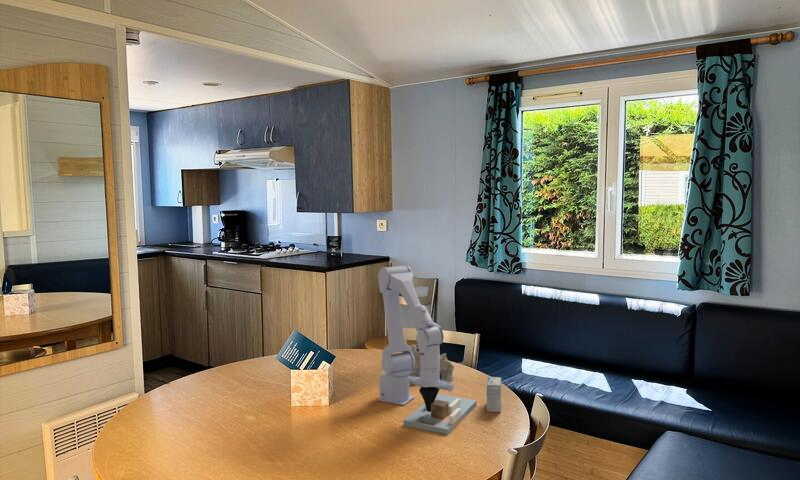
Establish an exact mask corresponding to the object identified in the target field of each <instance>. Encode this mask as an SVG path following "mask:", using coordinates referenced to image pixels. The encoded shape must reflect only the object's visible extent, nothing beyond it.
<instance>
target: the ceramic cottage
mask: <svg viewBox="0 0 800 480" xmlns="http://www.w3.org/2000/svg"><path fill="white" fill-rule="evenodd" d="M410 347H411V348H412V353H413V356H414V358H415V366H414V368H413V370H411V373H410V374H409V376H412V377H420V352H419V350H418V351H417V346H416V344H411V345H410ZM454 369H455V366H454V364H452V363H451V361H449V360H448V358H447V353H442V354H440V353H439V379H440V380H443V381H446V382H449V383H452V382H454V376H453V372H454Z"/></svg>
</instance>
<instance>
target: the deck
mask: <svg viewBox="0 0 800 480" xmlns="http://www.w3.org/2000/svg"><path fill="white" fill-rule="evenodd" d="M435 400H441V401H446V402H449V415H448V416H447V417H446V418H445V419H444V420H442V419H437V418H432V417H431V412H427V409H426V405H425V402H424V403H423V404H421V406H419V407H418V408H417V409H416V410H414V411H413V412H412V413H410V414H409V415H408V416H406V417H405V418H404V419H403V426H404V427H409V428H414V429H419V430H423V431H426V432H427V431H428V432H433V433H438V434H442V435H446V436H447V435H449V434H450V433H452V431H453V430H454V429H455V428H456V427H457V426H458V425H459V424H460V423H461V422H462V421H463V420H464V419H465V418H466V417H467V416H468V414H470V413H471V412H472V411H473V409H475V407H476V406H478V405H477V401H478V400H476V399H471V398H464V397H460V396H459V397H458V396H453V395H447V394H442V393H438V394H437V396H436V398H435ZM422 422H423V423H422ZM432 424H433V425H432Z"/></svg>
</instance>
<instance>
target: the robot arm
mask: <svg viewBox="0 0 800 480" xmlns="http://www.w3.org/2000/svg"><path fill="white" fill-rule="evenodd" d="M377 281H378V287H379V289H378V290H379V293H381V294H382V298H383V307H384V308H383V309H384V314H385V316H384V317H385V322H386V323H385V324H386V332H387V340H388V345H387V346H386V347H385V348H384V349H383V350H382V352H381V368H382V370H383V371H382V373H381V374H380V378H379V398H378V401H380V402H385V403H389V404H395V405H400V406H405V405H406V404H408V403H409V402H410V401H412V400H413V399H414V398H415V396H414V395H412V394H411V395H410V385H416V386H420V388H419V389H418V390H419V391H418V392H419V393H420V395H421V397H422V399H423V401H424V403H425V405H426V409H427V412H431V404H432V403H433V402H434V401H435V398H436V396H437V394H439V391H440V390H444V391H447V392H450V393H452V392H453V391H454V389H455V388H454V383H452V382H446V381H443V380H440V379H439V354H440V345H442V344H443V342H444V337H445V336H444V332H443V329H442V327H441V326H440V325H439V324H437V323H436V322H434V320H433V319H432V317H431V315H430V313H429V311H428V309H427V307H426V305H424V304H423V305H422V304H421V302H420V300H419V296H418V294H417V292H416V290H415V286H414V285H413V281H414V273H413V271H412V268H411V267H410V266H409V265H408V264H406V265H405V264H404V265H399V266H389V267H388V266H387V267H385V266H383V267H381V268H380V270H379V272H378V274H377ZM400 294H401V296H402V297H403V300H404V301H405V303H406V305H407V307H408V308H409V313H408V317H409V318H410V320H411V322H412V324H413V326H414V329H415V331H416V335H415V338H416V343H417V344H418V345H417V346H418V351H419V352H420V377H412V376H409V374H410V373H411V370H413V368H414V366H415V358H414V356H413V353H412V348H411V345H408V344H407V343H405V337H404V329H403V321H402V313H401V305H400V297H399V295H400Z"/></svg>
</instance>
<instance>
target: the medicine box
mask: <svg viewBox="0 0 800 480" xmlns="http://www.w3.org/2000/svg"><path fill="white" fill-rule="evenodd" d="M502 380H503V379H502V377H499V376H498V377H497V376H488V377H487V381H486V382H487V383H486V412H490V413H491V412H492V413H501V412H502V385H503V384H502V382H503V381H502Z"/></svg>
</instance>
